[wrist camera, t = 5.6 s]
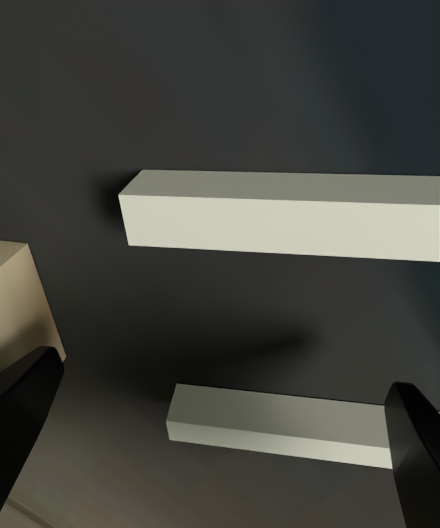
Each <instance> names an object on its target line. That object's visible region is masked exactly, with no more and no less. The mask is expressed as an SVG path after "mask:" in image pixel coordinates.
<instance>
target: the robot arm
mask: <svg viewBox="0 0 440 528" xmlns="http://www.w3.org/2000/svg"><path fill="white" fill-rule="evenodd" d="M63 374H64V364H63V362H62V360H61V357H60V355H59V353H58V350H57V349H56V348H55V347H53V346H39V347H37V348H35V349H34V350H32V351H31V352H29V353H28V354H26V355H25V356H23V357H22V358H20V359H19V360H17V361H16V362H14V363H13V364H11V365H10V366H8V367H7V368H5V369H4V370H2V371H1V372H0V511H1V509H2V507H3V505H4V503H5V501H6V499H7V497H8V495H9V493H10V491H11V489H12V487H13V485H14V483H15V481H16V479H17V477H18V476H19V474H20V472H21V470H22V468H23V466H24V464H25V462H26V460H27V458H28V456H29V454H30V452H31V450H32V448H33V446H34V444H35V442H36V440H37V438H38V436H39V434H40V432H41V430H42V427H43V425H44V423H45V420H46V418H47V415H48V413H49V410H50V408H51V405H52V403H53V400H54V397H55V395H56V392H57V390H58V387H59V385H60V382H61V379H62V377H63ZM384 412H385V419H386V426H387V433H388V440H389V447H390V454H391V461H392V468H393V474H394V479H395V484H396V488H397V492H398V496H399V500H400V504H401V508H402V512H403V516H404V520H405V524H406V528H440V413H439V412H438V411H437V410H436V409H435V408H434V406H433V405H432V404H431V403H430V402H429V401H428V400H427V399H426V397H425V396H424V395H423V394H422V393H421V392H420V391H419V390H418V389H417V387H416V386H415V385H413V384H411V383H406V382H394V383H393V384H392V386H391V388H390V390H389V393H388V395H387V397H386V400H385V403H384Z"/></svg>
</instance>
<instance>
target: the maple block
mask: <svg viewBox="0 0 440 528" xmlns="http://www.w3.org/2000/svg"><path fill="white" fill-rule="evenodd" d="M39 346H53V347H55V348H56V349H57V350H58V353H59V355H60V357H61V360H62V362H63V361H64V359H65V358H66V355H65V352H64V349H63V346H62V343H61V340H60V337H59V334H58V331H57V328H56V325H55V322H54V319H53V317H52V314H51V311H50V308H49V305H48V302H47V299H46V296H45V293H44V290H43V287H42V284H41V281H40V278H39V276H38V273H37V270H36V267H35V264H34V261H33V258H32V255H31V252H30V249H29V246H28V243H19V242H10V241H0V372H1V371H2V370H4V369H5V368H7V367H8V366H10V365H11V364H13V363H14V362H16V361H17V360H19V359H20V358H22V357H23V356H25V355H26V354H28V353H29V352H31V351H32V350H34V349H35V348H37V347H39Z"/></svg>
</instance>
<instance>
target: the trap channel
mask: <svg viewBox="0 0 440 528" xmlns="http://www.w3.org/2000/svg"><path fill="white" fill-rule="evenodd" d="M118 196H119V201H120V206H121V211H122V215H123V220H124V225H125V230H126V234H127V239H128V244H129V245H134V246H153V247H172V248H191V249H210V250H229V251H247V252H266V253H285V254H304V255H323V256H342V257H361V258H380V259H399V260H418V261H437V262H440V176H403V175H358V174H312V173H267V172H222V171H176V170H142V171H141V172H140V173H139V174H138V175H137V176H136V177H135V178H134V179H133V180H132V181H131V182H130V183H129V184H128V185H127V186H126V187H125V188H124V189H123V190H122V191H121V192H120V193H119V195H118ZM439 413H440V412H439ZM166 424H167V429H168V434H169V439H170V440H175V441H183V442H190V443H198V444H206V445H213V446H221V447H229V448H236V449H244V450H252V451H259V452H267V453H275V454H283V455H290V456H298V457H306V458H313V459H321V460H329V461H336V462H344V463H352V464H359V465H367V466H375V467H383V468H390V469H393V468H392V461H391V454H390V447H389V440H388V433H387V426H386V419H385V412H384V406H381V405H372V404H362V403H353V402H344V401H334V400H325V399H316V398H306V397H297V396H288V395H278V394H269V393H260V392H250V391H241V390H232V389H222V388H213V387H204V386H194V385H185V384H176V387H175V391H174V394H173V398H172V401H171V405H170V408H169V412H168V415H167V419H166Z"/></svg>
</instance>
